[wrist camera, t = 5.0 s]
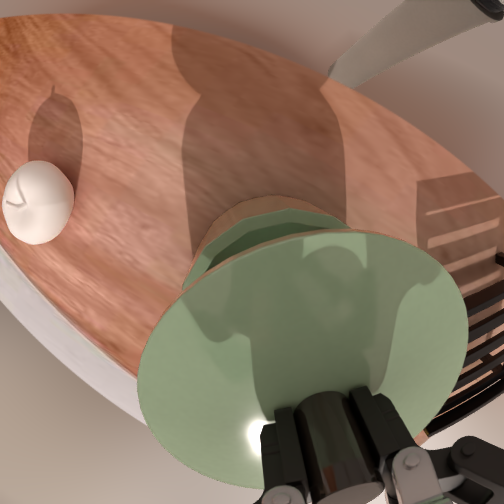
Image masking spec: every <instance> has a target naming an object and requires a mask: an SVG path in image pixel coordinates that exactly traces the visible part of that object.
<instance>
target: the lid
mask: <svg viewBox="0 0 504 504" xmlns="http://www.w3.org/2000/svg"><path fill="white" fill-rule="evenodd" d="M467 345H468V317H467V311H466V306H465V303H464V300H463V297H462V295H461V292H460V290H459V288H458V286H457V285H456V283H455V281H454V279H453V278H452V276H451V275H450V274H449V273H448V272H447V270H446V269H445V268H444V267H443V266H442V265H441V264H440V263H439V262H438V261H437V260H436V259H434V258H433V257H432V256H430V255H429V254H428V253H426V252H425V251H423V250H422V249H420V248H418V247H416V246H414V245H412V244H410V243H408V242H406V241H404V240H402V239H400V238H396V237H393V236H389V235H386V234H382V233H379V232H374V231H366V230H358V229H321V230H314V231H308V232H302V233H296V234H290V235H287V236H284V237H281V238H277V239H274V240H271V241H267V242H264V243H261V244H258V245H256V246H254V247H251V248H249V249H247V250H245V251H243V252H240V253H238V254H236V255H234V256H231V257H230V258H228V259H226V260H225V261H223V262H221V263H220V264H218V265H217V266H215V267H213V268H212V269H210V270H208V271H207V272H205V273H204V274H203V275H201V276H200V277H199V278H198V279H196V280H195V281H194V282H193V283H192V284H190V285H189V286H188V287H187V288H185V289H184V290H183V291H182V292H181V293H180V294H179V295H178V296H177V298H176V299H175V300H174V301H173V302H172V303H171V304H170V305H169V306H168V307H167V309H166V310H165V311H164V312H163V314H162V316H161V317H160V319H159V320H158V322H157V323H156V325H155V326H154V328H153V329H152V331H151V334H150V336H149V338H148V341H147V343H146V345H145V348H144V350H143V353H142V355H141V359H140V364H139V369H138V375H137V392H138V398H139V403H140V408H141V411H142V414H143V416H144V419H145V421H146V424H147V425H148V427H149V429H150V430H151V432H152V434H153V435H154V437H155V438H156V439H157V440H158V441H159V443H160V444H161V445H162V446H163V447H164V449H166V450H167V451H168V452H169V453H170V454H171V455H172V456H173V457H175V458H176V459H177V460H179V461H180V462H181V463H183V464H184V465H186V466H187V467H189V468H191V469H192V470H194V471H197V472H198V473H200V474H202V475H204V476H207V477H209V478H212V479H214V480H217V481H220V482H224V483H227V484H231V485H235V486H240V487H245V488H253V489H263V490H264V478H263V469H262V459H261V449H260V448H261V447H260V439H259V434H260V432H261V430H262V427H263V425H265V424H270V423H275V417H274V410H277V409H282V408H286V407H291V408H292V412H293V416H294V421H295V425H296V430H297V434H298V439H299V443H300V448H301V452H302V457H303V461H304V466H305V470H306V474H307V479H308V483H309V488H310V489H309V493H310V498H311V502H312V504H366V503H368V502H370V501H372V500H373V499H375V498H376V497H377V496H379V495H380V494H381V493H382V492H383V490H384V489H385V483H384V480H383V478H382V475H381V473H380V471H379V468H378V466H377V463H376V461H375V459H374V456H373V454H372V452H371V449H370V447H369V445H368V442H367V440H366V438H365V435H364V433H363V431H362V428H361V426H360V424H359V422H358V419H357V417H356V415H355V412H354V410H353V408H352V406H351V403H350V401H349V391H350V390H353V389H356V388H359V387H362V386H365V385H366V386H367V387H368V388H369V390H370V392H371V394H372V396H373V395H376V394H379V393H382V394H383V395H385V396H386V397H388V398H389V399H390V400H391V401H392V403H393V405H394V406H395V409H396V410H397V412H398V413H399V415H400V417H401V418H402V420H403V422H404V424H405V425H406V427H407V429H408V431H409V432H410V434H411V436H412V438H414V437H416V436H417V435H418V434H419V433H420V432H421V431H422V430H423V429H424V428H425V427H426V426H427V425H428V424H429V423H430V421H431V420H432V419H433V418H434V417H435V415H436V414H437V413H438V412H439V410H440V409H441V408H442V406H443V405H444V403H445V402H446V400H447V399H448V397H449V395H450V394H451V392H452V390H453V388H454V386H455V384H456V382H457V380H458V377H459V375H460V372H461V370H462V367H463V363H464V360H465V356H466V351H467Z"/></svg>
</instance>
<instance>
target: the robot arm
mask: <svg viewBox="0 0 504 504" xmlns="http://www.w3.org/2000/svg"><path fill="white" fill-rule="evenodd" d="M475 1H476V2H477V3H478V4H479V5H480V6H481V7H483V8H484V9H485V10H487V11H488V12H490V13H493V14H497V13H499V12H501V11H504V0H475ZM349 401H350V403H351V406H352V408H353V410H354V412H355V415H356V417H357V419H358V422H359V424H360V426H361V428H362V431H363V433H364V435H365V438H366V440H367V442H368V445H369V447H370V449H371V452H372V454H373V456H374V459H375V461H376V463H377V466H378V468H379V471H380V473H381V475H382V478H383V480H384V483H385V498H386V503H387V504H453V502H455V503H457V504H504V450H503V449H501V448H499V447H497V446H494V445H492V444H490V443H488V442H486V441H484V440H481V439H479V438H477V437H474V436H465V437H462V438H460V439H458V440H457V441H456V442H455V443H454V445H453V446H452V447H448V448H443V449H438V450H426V449H423V448H421V447H419V446H418V445H417V444H416V443H415V441H414V439H413V438H412V436H411V434H410V432H409V431H408V429H407V427H406V425H405V424H404V422H403V420H402V418H401V417H400V415H399V413H398V412H397V410H396V409H395V406H394V405H393V403H392V401H391V400H390V399H389V398H388V397H386V396H385V395H383V394H382V393H379V394H376V395H373V396H372V394H371V392H370V390H369V388H368V387H367V386H366V385H365V386H362V387H359V388H356V389H353V390H350V391H349ZM274 417H275V423H270V424H265V425H263V427H262V430H261V432H260V434H259V439H260V447H261V448H260V449H261V459H262V469H263V478H264V492H263V494H262V496H261V497H260V498H259V500H257V501H256V502H255V503H253V504H308V503H311V498H310V493H309V489H310V488H309V483H308V479H307V474H306V470H305V466H304V461H303V457H302V452H301V448H300V443H299V439H298V434H297V430H296V425H295V421H294V416H293V412H292V408H291V407H286V408H282V409H277V410H274ZM452 501H453V502H452Z"/></svg>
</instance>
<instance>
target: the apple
mask: <svg viewBox="0 0 504 504" xmlns="http://www.w3.org/2000/svg"><path fill="white" fill-rule="evenodd" d="M73 206H74V191H73V187H72V185H71V183H70V181H69V180H68V178H67V177H66V176H65V175H64V174H63V173H62V172H61V171H60V169H59V168H57V167H56V166H55V165H53V164H52V163H49V162H46V161H31V162H27V163H25V164H23V165H22V166H21V167H19V168H18V169H17V170H16V171H15V172H14V173H13V174H12V176H11V177H10V179H9V180H8V182H7V185H6V188H5V191H4V195H3V200H2V208H3V213H4V216H5V219H6V222H7V226H8V228H9V230H10V232H11V233H12V234H13V235H14V236H15V237H16V238H18V239H20V240H21V241H23V242H25V243H28V244H34V245H36V244H42V243H45V242H48V241H50V240H52V239H53V238H55V237H56V236H57V235H58V234H59V233H60V232H61V231H62V229H63V228H64V227H65V225H66V223H67V222H68V220H69V217H70V215H71V212H72V209H73Z"/></svg>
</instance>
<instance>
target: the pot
mask: <svg viewBox="0 0 504 504" xmlns="http://www.w3.org/2000/svg"><path fill="white" fill-rule="evenodd" d="M321 229H351V228H350V227H349V226H347V225H346V224H344V223H343V222H342V221H340V220H339V219H337V218H336V217H334V216H333V215H331V214H329V213H327V212H325V211H323V210H322V209H320V208H318V207H316V206H314V205H312V204H310V203H308V202H306V201H304V200H300V199H295V198H291V197H286V196H278V195H268V196H262V197H256V198H253V199H249V200H246V201H242V202H239V203H238V204H237V205H235V206H234V207H232V208H231V209H229V210H227V211H226V212H225V213H224V214H222V215H221V216H220V217H219V218H217V219H216V220H215V221H214V222H213V223H212V225H211V227H210V228H209V230H208V232H207V233H206V235H205V237H204V238H203V240H202V242H201V244H200V245H199V247H198V249H197V251H196V254H195V256H194V259H193V261H192V263H191V266H190V268H189V271H188V273H187V275H186V278H185V280H184V283H183V288H182V291H183V290H184V289H185V288H187V287H188V286H189V285H190V284H192V283H193V282H194V281H195V280H196V279H198V278H199V277H200V276H201V275H203V274H204V273H205V272H207V271H208V270H210V269H212V268H213V267H215V266H217V265H218V264H220V263H221V262H223V261H225V260H226V259H228V258H230V257H231V256H234V255H236V254H238V253H240V252H243V251H245V250H247V249H249V248H251V247H254V246H256V245H258V244H261V243H264V242H267V241H271V240H274V239H277V238H281V237H284V236H287V235H290V234H296V233H302V232H308V231H314V230H321Z"/></svg>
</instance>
